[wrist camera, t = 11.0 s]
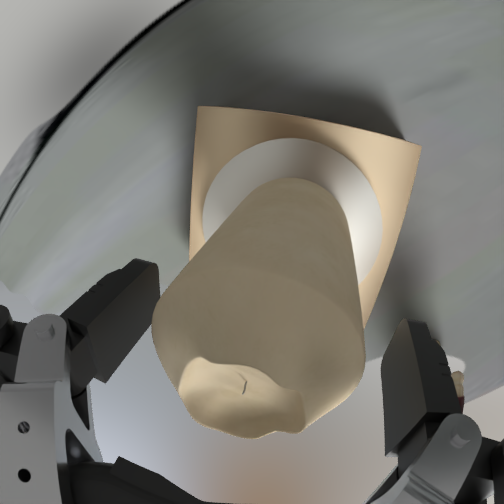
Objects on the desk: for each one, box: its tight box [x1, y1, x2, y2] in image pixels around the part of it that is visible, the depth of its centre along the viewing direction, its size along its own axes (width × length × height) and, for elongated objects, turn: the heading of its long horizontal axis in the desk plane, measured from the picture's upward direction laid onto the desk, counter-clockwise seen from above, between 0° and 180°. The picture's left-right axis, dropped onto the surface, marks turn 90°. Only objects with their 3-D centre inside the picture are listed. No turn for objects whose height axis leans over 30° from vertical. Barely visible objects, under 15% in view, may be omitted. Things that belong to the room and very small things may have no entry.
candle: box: [151, 178, 366, 439], centre depth 10 cm, size 6×6×10 cm
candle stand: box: [189, 106, 422, 330], centre depth 16 cm, size 11×11×4 cm
